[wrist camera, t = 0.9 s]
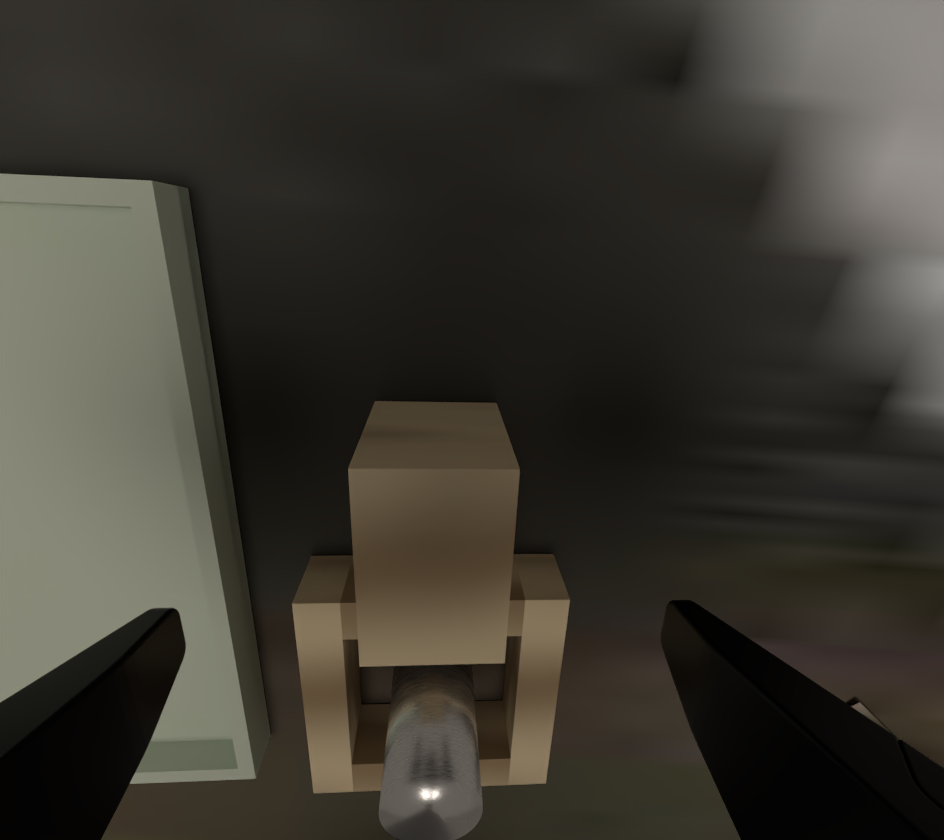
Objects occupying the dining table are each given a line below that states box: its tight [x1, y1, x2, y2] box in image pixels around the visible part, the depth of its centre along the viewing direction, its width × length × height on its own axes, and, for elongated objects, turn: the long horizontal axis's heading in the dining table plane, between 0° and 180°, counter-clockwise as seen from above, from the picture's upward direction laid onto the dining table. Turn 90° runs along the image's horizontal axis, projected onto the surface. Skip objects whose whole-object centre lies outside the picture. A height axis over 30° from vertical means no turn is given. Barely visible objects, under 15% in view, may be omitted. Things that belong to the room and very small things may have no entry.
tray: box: [0, 174, 271, 784], centre depth 16 cm, size 21×14×2 cm
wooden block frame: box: [292, 401, 570, 793], centre depth 16 cm, size 15×9×5 cm, turn 178°
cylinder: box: [379, 664, 483, 840], centre depth 17 cm, size 3×3×6 cm
